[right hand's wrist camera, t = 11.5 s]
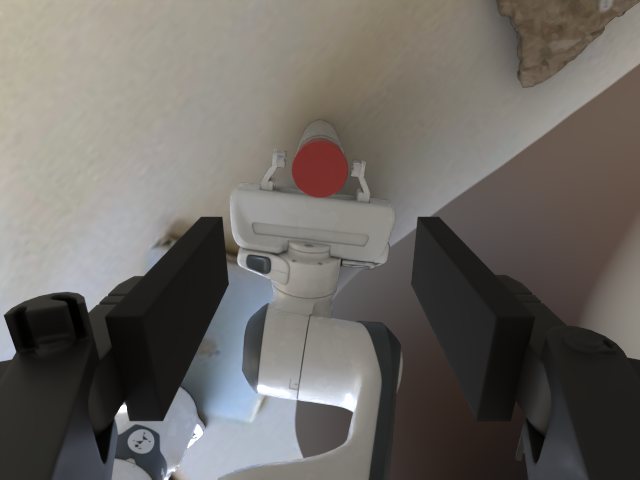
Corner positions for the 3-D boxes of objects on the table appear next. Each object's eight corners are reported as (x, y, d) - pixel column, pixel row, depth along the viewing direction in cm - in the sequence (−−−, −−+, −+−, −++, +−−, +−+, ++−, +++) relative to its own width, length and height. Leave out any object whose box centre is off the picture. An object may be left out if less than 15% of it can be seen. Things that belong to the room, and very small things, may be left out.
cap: (294, 190, 32) (292, 197, 30) (293, 138, 30) (291, 141, 28) (345, 190, 32) (347, 197, 30) (346, 138, 30) (348, 142, 28)
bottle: (303, 154, 51) (291, 197, 30) (303, 120, 50) (290, 140, 28) (336, 154, 51) (348, 198, 30) (337, 120, 50) (349, 140, 28)
